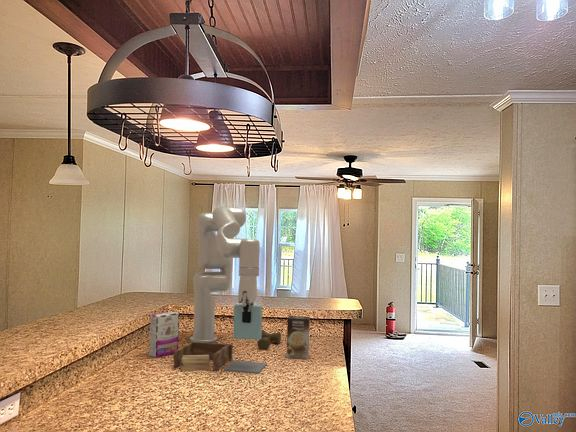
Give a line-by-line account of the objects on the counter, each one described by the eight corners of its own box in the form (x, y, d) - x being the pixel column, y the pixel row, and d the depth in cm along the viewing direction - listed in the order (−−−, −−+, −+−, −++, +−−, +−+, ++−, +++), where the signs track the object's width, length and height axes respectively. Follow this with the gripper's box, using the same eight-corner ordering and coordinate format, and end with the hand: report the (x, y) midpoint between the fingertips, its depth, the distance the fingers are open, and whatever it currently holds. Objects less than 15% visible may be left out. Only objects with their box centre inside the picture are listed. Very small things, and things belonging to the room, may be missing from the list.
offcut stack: (181, 367, 168) (182, 355, 168) (209, 367, 170) (209, 354, 170) (181, 371, 163) (181, 358, 163) (209, 370, 165) (209, 358, 165)
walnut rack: (188, 356, 183) (189, 341, 183) (232, 359, 180) (232, 344, 180) (171, 367, 167) (171, 351, 167) (218, 371, 163) (218, 354, 164)
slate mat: (233, 362, 177) (233, 360, 177) (266, 364, 174) (266, 363, 174) (223, 370, 165) (224, 369, 165) (259, 373, 162) (259, 371, 163)
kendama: (251, 350, 198) (263, 339, 218) (273, 352, 196) (283, 341, 216) (252, 336, 198) (263, 326, 218) (273, 338, 196) (283, 328, 216)
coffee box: (285, 358, 185) (286, 318, 185) (287, 354, 191) (288, 315, 192) (308, 359, 184) (309, 319, 184) (309, 355, 190) (310, 316, 191)
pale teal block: (235, 336, 172) (236, 304, 173) (261, 338, 170) (262, 305, 171) (233, 338, 169) (234, 305, 170) (259, 339, 167) (260, 306, 168)
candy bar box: (170, 351, 191) (172, 311, 192) (178, 353, 188) (180, 312, 189) (148, 356, 182) (149, 314, 183) (155, 358, 179) (157, 316, 180)
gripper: (245, 270, 180) (244, 318, 179) (232, 273, 164) (231, 325, 163) (263, 271, 179) (262, 318, 177) (253, 273, 163) (251, 326, 161)
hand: (247, 321), depth 170 cm, fingers closed on pale teal block, 3 cm apart
